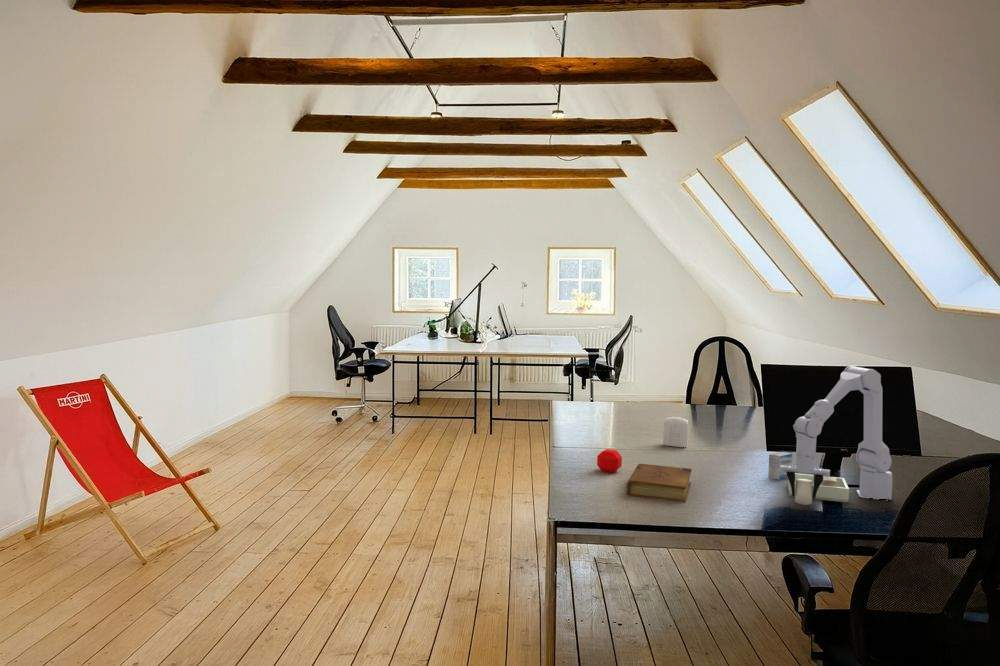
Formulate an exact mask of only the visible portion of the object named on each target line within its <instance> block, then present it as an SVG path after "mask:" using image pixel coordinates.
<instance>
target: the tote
mask: <svg viewBox="0 0 1000 666" xmlns="http://www.w3.org/2000/svg"><path fill="white" fill-rule="evenodd" d="M834 477H835V476H834ZM835 478H836V480H837V487H832V486H822V485H820V486H819V488H818V490H817V493H816V497H815V498H813V497H812V500H819V501H831V502H840V503H849V500H850V498H849V496H850V487H849V486H848V484H847V482H846V479H845V478H844V477H835ZM796 479H808V480H811V481H813V485H814V475H807V474H797V473H795V489H796ZM787 489H788V494H789V495H788V496H789V497H792V498H793V497H794V498H795V496H792V489H791V485H790V482H789V479H788V478H787ZM812 493H813V488H812Z"/></svg>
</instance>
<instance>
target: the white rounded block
mask: <svg viewBox="0 0 1000 666" xmlns="http://www.w3.org/2000/svg"><path fill="white" fill-rule="evenodd" d="M689 425H690V424H689V420H687V419H685V418H682V417H679V416H671V417H665V419H664V422H663V436H662V437H663V438H662V444H663V446H668V447H669V446H670V447H677V448H683V447H684V448H685V447H687V448H688V445H689V430H690V429H689ZM684 448H683V449H684ZM685 449H686V448H685Z"/></svg>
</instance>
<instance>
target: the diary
mask: <svg viewBox="0 0 1000 666" xmlns="http://www.w3.org/2000/svg"><path fill="white" fill-rule="evenodd" d="M691 474H692V468H687V467H676V466H667V465H656V464H646V463H638V465H636V467H635V469H634V471H633V473H632V474H631V475H630V477H629V478H628V480H627V482H626V495H627V497H629V496H630V497H638V498H643V499H656V500H662V501H663V500H664V501H671V502H680V503H687V499H688V495H689V492H690V488H691V485H692V481H690V478H691ZM690 484H691V485H690Z"/></svg>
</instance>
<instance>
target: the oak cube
mask: <svg viewBox="0 0 1000 666" xmlns="http://www.w3.org/2000/svg"><path fill="white" fill-rule="evenodd" d="M820 485H822V486H832V487H837V480H836V478H835V476H830V477H826V476H823V481H822V483H821V484H820Z"/></svg>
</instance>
